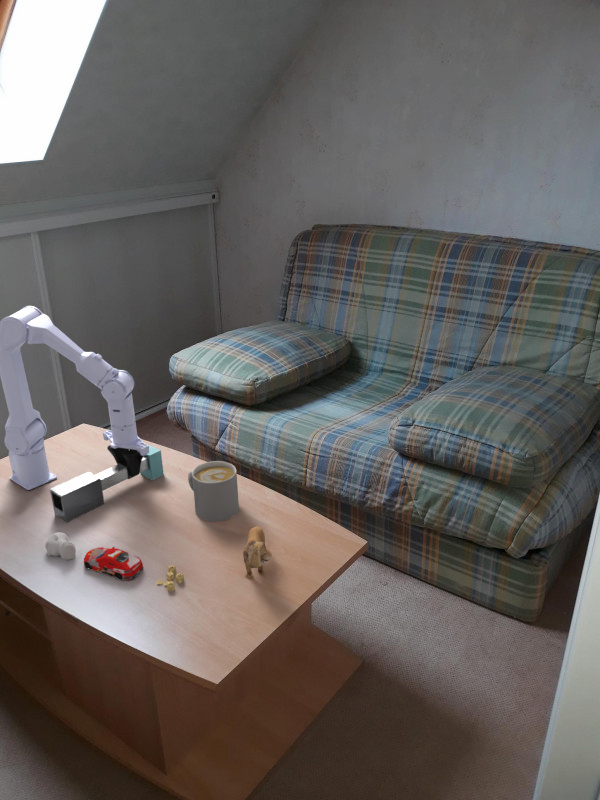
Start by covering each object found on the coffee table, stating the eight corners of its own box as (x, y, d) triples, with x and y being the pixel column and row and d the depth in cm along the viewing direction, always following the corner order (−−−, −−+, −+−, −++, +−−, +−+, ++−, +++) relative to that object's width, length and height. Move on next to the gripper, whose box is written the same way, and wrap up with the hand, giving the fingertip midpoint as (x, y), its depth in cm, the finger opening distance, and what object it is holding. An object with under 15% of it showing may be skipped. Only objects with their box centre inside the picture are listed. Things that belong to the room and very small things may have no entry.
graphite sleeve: (54, 515, 150) (49, 488, 148) (92, 497, 157) (88, 471, 155) (66, 522, 148) (61, 496, 145) (104, 504, 154) (100, 478, 152)
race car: (78, 567, 134) (75, 551, 132) (97, 552, 138) (95, 536, 136) (129, 586, 128) (127, 569, 126) (147, 569, 132) (145, 553, 131)
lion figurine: (273, 586, 127) (272, 548, 123) (246, 589, 126) (243, 551, 122) (265, 541, 140) (263, 505, 136) (240, 544, 139) (238, 508, 136)
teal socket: (140, 474, 167) (137, 449, 164) (151, 468, 170) (148, 444, 167) (152, 480, 164) (149, 455, 161) (163, 474, 167) (160, 450, 164)
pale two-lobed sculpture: (46, 553, 140) (67, 538, 142) (60, 571, 134) (82, 555, 136) (36, 539, 137) (58, 524, 139) (50, 556, 131) (72, 540, 134)
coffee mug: (247, 510, 151) (245, 472, 147) (210, 527, 145) (207, 488, 141) (215, 487, 161) (212, 451, 157) (179, 502, 155) (175, 465, 151)
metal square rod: (75, 496, 153) (73, 483, 151) (147, 462, 167) (145, 451, 165) (83, 501, 151) (81, 488, 149) (155, 466, 165) (153, 455, 163)
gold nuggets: (173, 572, 132) (172, 564, 131) (190, 582, 129) (189, 574, 128) (153, 585, 129) (152, 577, 128) (170, 595, 126) (169, 587, 125)
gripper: (89, 420, 157) (97, 470, 162) (129, 436, 149) (136, 488, 154) (113, 410, 162) (120, 459, 167) (153, 425, 154) (159, 476, 159)
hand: (129, 472), depth 161 cm, fingers closed on metal square rod, 3 cm apart
